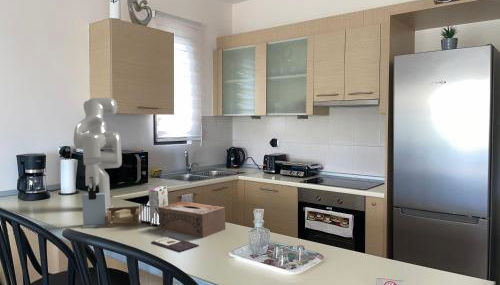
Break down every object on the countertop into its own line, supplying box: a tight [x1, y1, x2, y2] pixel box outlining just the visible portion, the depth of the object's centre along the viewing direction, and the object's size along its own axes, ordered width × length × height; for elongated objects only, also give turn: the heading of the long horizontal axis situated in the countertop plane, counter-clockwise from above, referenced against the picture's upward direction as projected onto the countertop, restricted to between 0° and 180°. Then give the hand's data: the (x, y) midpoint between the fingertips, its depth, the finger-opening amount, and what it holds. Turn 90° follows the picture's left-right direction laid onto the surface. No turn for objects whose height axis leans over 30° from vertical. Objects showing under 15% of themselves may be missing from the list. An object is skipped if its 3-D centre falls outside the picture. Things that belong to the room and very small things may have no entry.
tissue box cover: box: [159, 200, 226, 239], centre depth 181 cm, size 26×14×10 cm, turn 54°
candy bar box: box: [148, 185, 169, 226], centre depth 193 cm, size 11×5×16 cm, turn 168°
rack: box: [104, 205, 141, 228], centre depth 195 cm, size 14×14×6 cm
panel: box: [81, 193, 108, 226], centre depth 193 cm, size 4×10×14 cm, turn 102°
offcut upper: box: [114, 209, 131, 218], centre depth 192 cm, size 4×6×2 cm, turn 149°
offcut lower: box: [111, 214, 134, 223], centre depth 193 cm, size 4×9×4 cm, turn 112°
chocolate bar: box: [151, 236, 200, 253], centre depth 159 cm, size 9×1×18 cm
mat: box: [81, 224, 105, 229], centre depth 193 cm, size 11×11×1 cm
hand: (94, 197), depth 193 cm, fingers open, 9 cm apart
